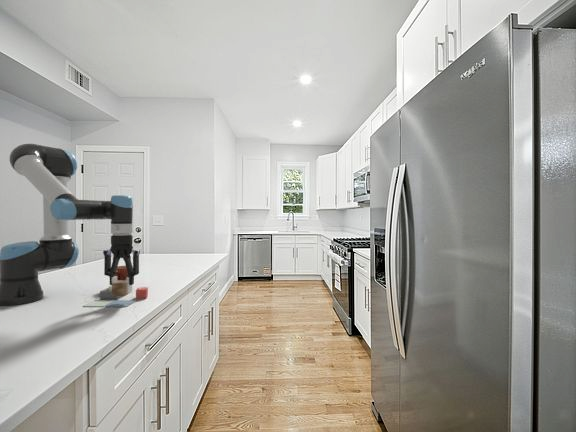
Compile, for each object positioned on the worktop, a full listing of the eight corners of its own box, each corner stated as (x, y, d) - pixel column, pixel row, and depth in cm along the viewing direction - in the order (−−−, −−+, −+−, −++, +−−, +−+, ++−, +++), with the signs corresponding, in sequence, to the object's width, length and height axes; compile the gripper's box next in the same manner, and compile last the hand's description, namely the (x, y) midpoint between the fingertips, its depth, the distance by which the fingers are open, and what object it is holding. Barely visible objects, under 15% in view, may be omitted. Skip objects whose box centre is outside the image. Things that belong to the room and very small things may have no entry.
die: (135, 299, 127) (135, 288, 127) (137, 296, 131) (137, 286, 130) (146, 298, 128) (146, 288, 128) (147, 296, 132) (147, 286, 132)
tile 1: (82, 306, 116) (82, 305, 116) (95, 300, 124) (95, 299, 124) (103, 306, 116) (103, 306, 116) (115, 300, 124) (115, 300, 124)
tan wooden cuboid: (111, 296, 117) (111, 283, 117) (118, 292, 122) (118, 280, 122) (124, 295, 117) (124, 283, 117) (131, 292, 122) (131, 280, 122)
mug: (118, 286, 148) (118, 265, 148) (136, 286, 148) (136, 265, 148) (102, 292, 136) (103, 270, 136) (122, 293, 136) (122, 270, 136)
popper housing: (100, 299, 125) (100, 291, 125) (109, 295, 132) (109, 287, 132) (117, 299, 125) (117, 291, 125) (125, 295, 132) (126, 287, 132)
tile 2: (105, 306, 116) (105, 306, 116) (116, 300, 124) (116, 300, 124) (126, 307, 116) (126, 306, 116) (136, 300, 124) (136, 300, 124)
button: (106, 296, 127) (106, 287, 127) (111, 294, 131) (111, 285, 131) (115, 296, 127) (115, 287, 127) (120, 294, 131) (120, 285, 131)
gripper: (92, 235, 116) (92, 295, 116) (140, 235, 116) (140, 295, 116) (104, 233, 123) (104, 290, 123) (149, 233, 124) (148, 290, 124)
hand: (121, 293), depth 120 cm, fingers closed on tan wooden cuboid, 5 cm apart
